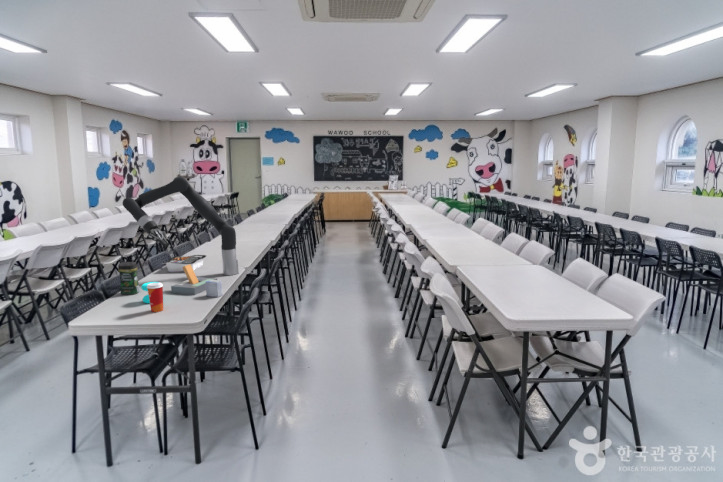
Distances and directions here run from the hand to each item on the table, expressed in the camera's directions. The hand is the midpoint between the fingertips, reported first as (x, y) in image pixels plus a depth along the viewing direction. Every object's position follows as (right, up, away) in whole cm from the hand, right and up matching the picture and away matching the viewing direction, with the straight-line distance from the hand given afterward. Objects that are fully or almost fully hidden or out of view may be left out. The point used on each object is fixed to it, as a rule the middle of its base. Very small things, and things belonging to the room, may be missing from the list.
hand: (166, 245), depth 273 cm
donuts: (+3, -31, -24) cm, 39 cm away
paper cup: (+13, -33, -40) cm, 54 cm away
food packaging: (-9, -18, +53) cm, 56 cm away
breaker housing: (+18, -26, -1) cm, 32 cm away
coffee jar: (-18, -28, -8) cm, 34 cm away
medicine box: (+34, -29, -16) cm, 47 cm away
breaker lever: (+18, -23, -1) cm, 29 cm away
